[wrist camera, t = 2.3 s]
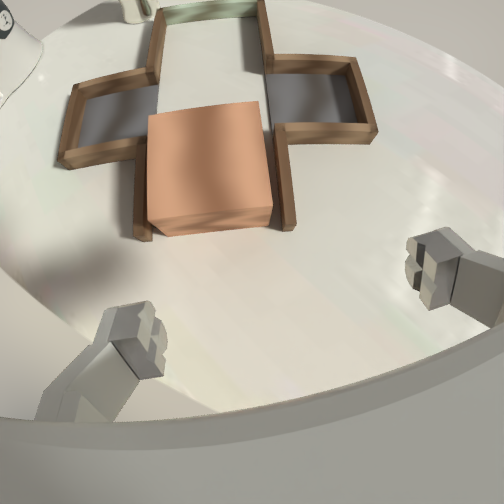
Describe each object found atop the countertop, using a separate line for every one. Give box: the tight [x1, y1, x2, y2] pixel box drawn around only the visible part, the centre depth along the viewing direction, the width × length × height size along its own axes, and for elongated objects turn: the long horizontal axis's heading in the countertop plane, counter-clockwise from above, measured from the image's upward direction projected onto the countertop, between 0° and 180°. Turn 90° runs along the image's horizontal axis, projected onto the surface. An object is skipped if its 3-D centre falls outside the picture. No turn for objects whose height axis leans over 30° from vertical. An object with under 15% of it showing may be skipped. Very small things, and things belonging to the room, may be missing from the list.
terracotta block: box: [147, 101, 273, 237], centre depth 29 cm, size 10×10×7 cm
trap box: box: [57, 0, 378, 242], centre depth 32 cm, size 35×33×3 cm
